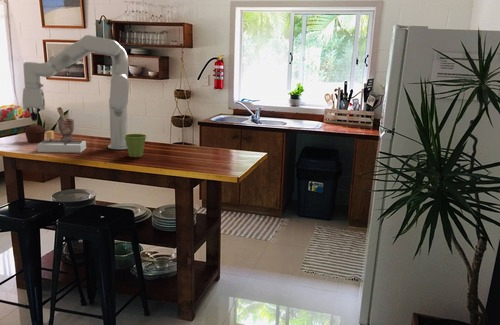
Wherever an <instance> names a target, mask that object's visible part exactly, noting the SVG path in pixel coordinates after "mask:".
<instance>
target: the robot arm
mask: <svg viewBox="0 0 500 325" xmlns="http://www.w3.org/2000/svg"><path fill="white" fill-rule="evenodd" d="M91 53H94V54H98V55H104V56H109V57H111V60H112V69H111V78H110V91H109V99H108V104H109V105H108V106H109V128H110V129H109V131H110V132H109V134H110V144H108V145H107V147H108V149H109V150H128V149H127V144H126V140H125V137H124V135H126V134H129V133H128V105H129V104H128V102H129V91H130V90H129V89H130V81H129V57H128V54H127V51H126V50H125V48H124V47H123V46H121V44H120V43H119V42H118V41H116V40H114V39H110V38H109V39H108V38H104V37H99V36H95V35H90V34H86V35H84V36H83V37H82V38H80V39H78V40H77V41H75V42H73V43H72V44H71V45H69V46H67V47H65V48H64V49H63V50H62V51H61V52H60V53H58V55H56V56H54V57H53V58H51V59H50V60H48V61H45V62H41V63H40V62H39V63H38V62H34V61H33V62H32V61H27V62H23V77H24V78H23V79H24V80H23V81H24V88H22V89H23V90H22V109H23V110H27V111H28V112H29V113H30V118H31V121H32V122H37V121H38V119H39V112H40V111H44V110H45V109H46V108H45V106H46V99H45V94H44V89H43V87H44V84H42V83H41V77H43V78H51V77H53V76H55V75H56V74H58V73H60V72H61V71H63V70H65V69H67V68H68V67H69V66H72V65H74V64H76V63H77V62H79V61H81V60H82V59H84V58H85V57H87V56H88V55H90V54H91Z"/></svg>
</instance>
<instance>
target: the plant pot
mask: <svg viewBox="0 0 500 325" xmlns="http://www.w3.org/2000/svg"><path fill="white" fill-rule="evenodd" d="M147 136H148V135H147V134H143V133H128V134H126V135H124V137H125V140H126V144H127V149H126V150H127V153H128V157H130V158H141V157H143V155H144V148H145V142H146V138H147Z"/></svg>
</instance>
